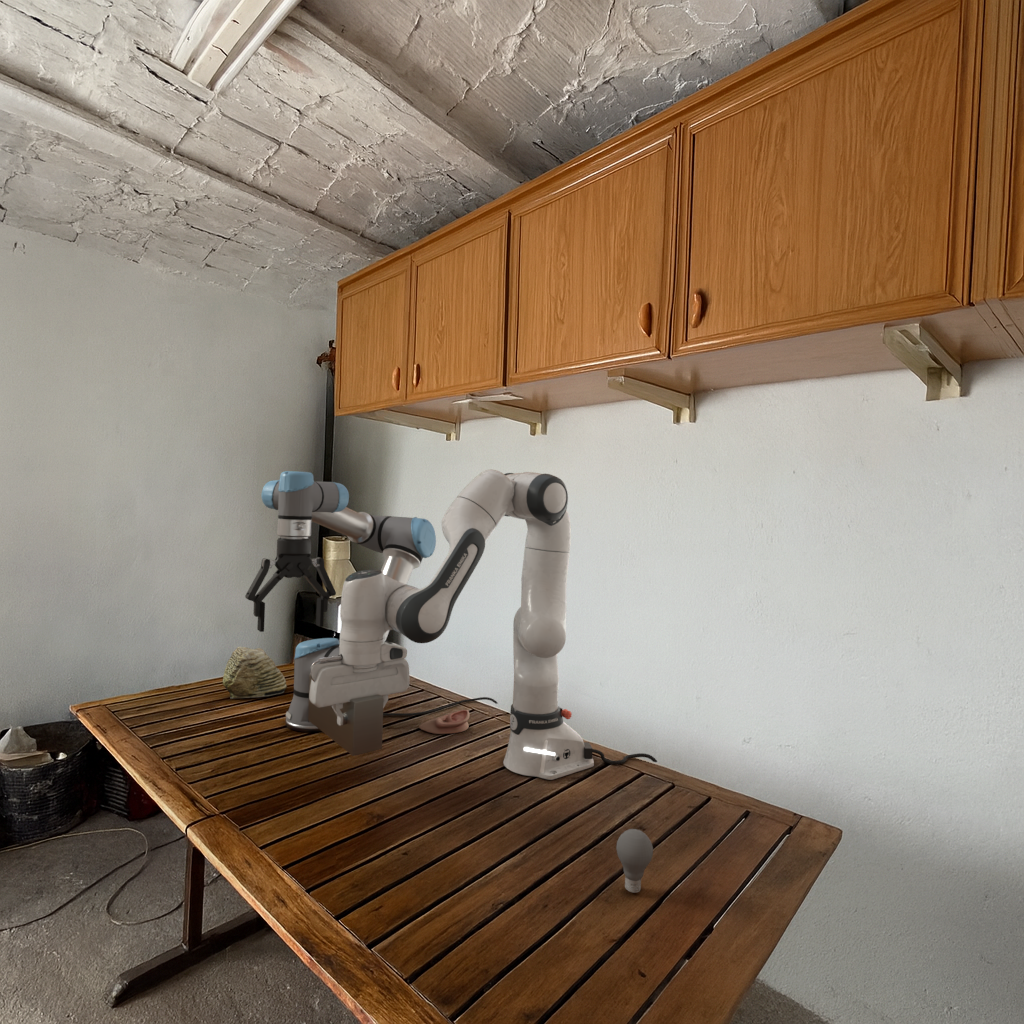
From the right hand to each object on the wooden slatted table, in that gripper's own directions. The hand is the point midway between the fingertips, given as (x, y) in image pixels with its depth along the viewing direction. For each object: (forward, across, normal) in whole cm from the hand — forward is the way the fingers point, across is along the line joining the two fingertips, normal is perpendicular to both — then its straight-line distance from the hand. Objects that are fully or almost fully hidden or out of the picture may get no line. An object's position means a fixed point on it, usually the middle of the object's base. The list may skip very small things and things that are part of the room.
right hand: (360, 720), depth 127 cm
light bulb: (+20, +26, -49) cm, 59 cm away
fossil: (+19, +6, +87) cm, 89 cm away
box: (+5, 0, +8) cm, 9 cm away
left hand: (-13, -3, +31) cm, 34 cm away
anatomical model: (+19, +41, +32) cm, 55 cm away
